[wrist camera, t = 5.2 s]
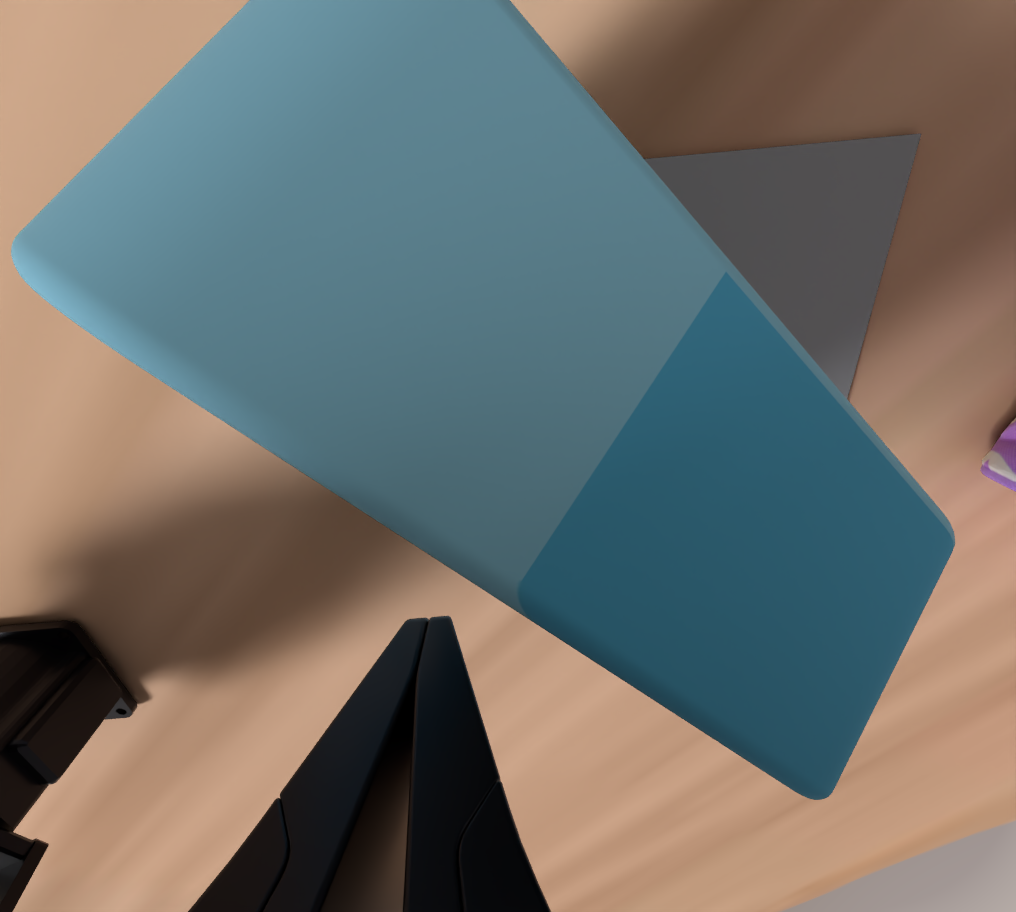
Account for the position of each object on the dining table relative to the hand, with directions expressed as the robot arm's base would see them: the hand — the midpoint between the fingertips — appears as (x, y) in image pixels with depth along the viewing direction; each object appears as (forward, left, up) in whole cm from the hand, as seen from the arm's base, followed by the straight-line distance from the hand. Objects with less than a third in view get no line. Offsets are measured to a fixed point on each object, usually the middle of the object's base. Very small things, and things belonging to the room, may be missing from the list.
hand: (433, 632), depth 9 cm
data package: (-1, 0, -9) cm, 9 cm away
